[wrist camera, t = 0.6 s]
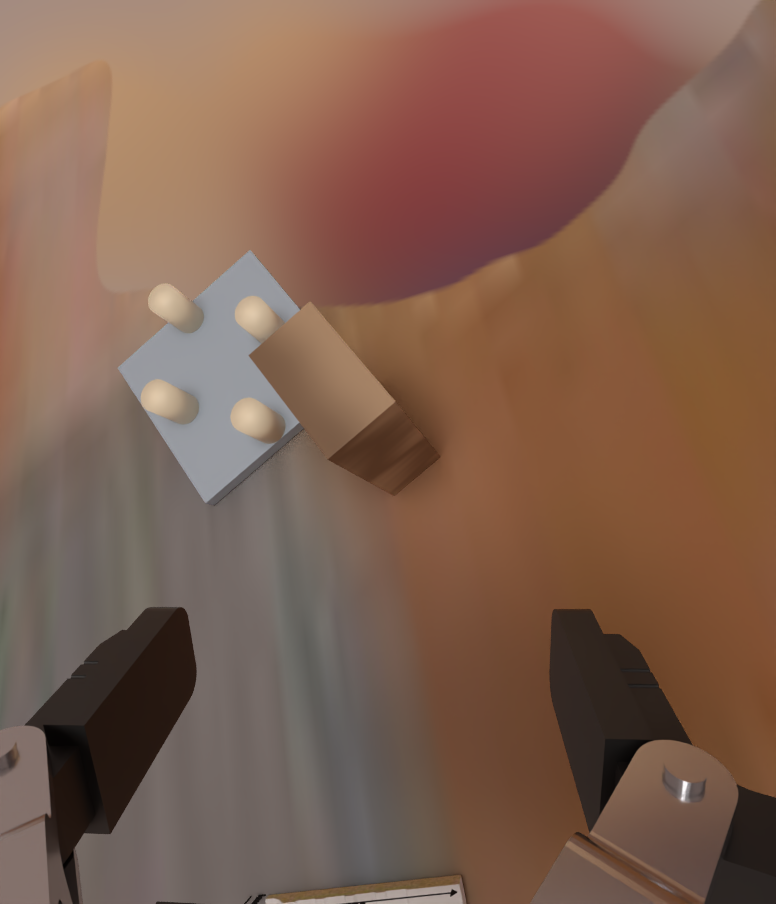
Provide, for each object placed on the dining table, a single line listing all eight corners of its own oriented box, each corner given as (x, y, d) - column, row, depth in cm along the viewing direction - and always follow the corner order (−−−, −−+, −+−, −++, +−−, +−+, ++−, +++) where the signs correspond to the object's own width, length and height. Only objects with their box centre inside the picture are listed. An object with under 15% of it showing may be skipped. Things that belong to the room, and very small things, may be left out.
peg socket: (257, 257, 38) (226, 223, 34) (359, 380, 34) (338, 356, 31) (127, 372, 39) (84, 351, 35) (214, 505, 35) (175, 497, 31)
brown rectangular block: (378, 384, 34) (310, 301, 24) (440, 456, 32) (395, 401, 22) (335, 421, 34) (248, 355, 24) (394, 495, 32) (327, 459, 22)
